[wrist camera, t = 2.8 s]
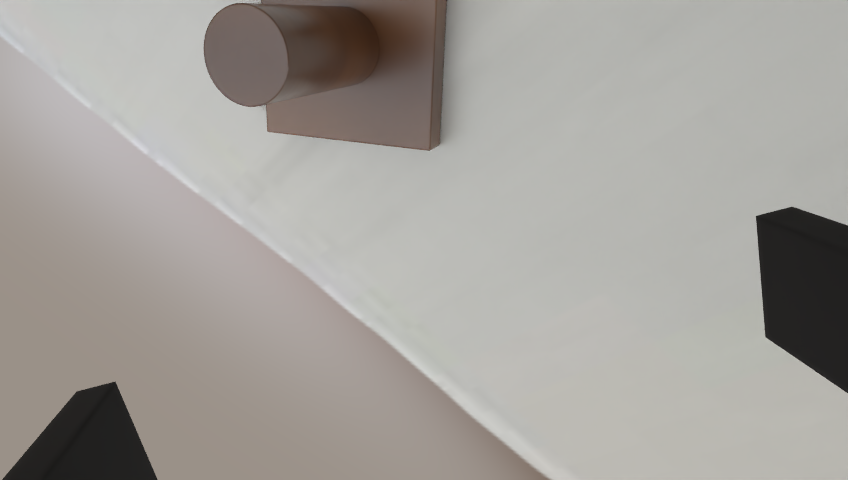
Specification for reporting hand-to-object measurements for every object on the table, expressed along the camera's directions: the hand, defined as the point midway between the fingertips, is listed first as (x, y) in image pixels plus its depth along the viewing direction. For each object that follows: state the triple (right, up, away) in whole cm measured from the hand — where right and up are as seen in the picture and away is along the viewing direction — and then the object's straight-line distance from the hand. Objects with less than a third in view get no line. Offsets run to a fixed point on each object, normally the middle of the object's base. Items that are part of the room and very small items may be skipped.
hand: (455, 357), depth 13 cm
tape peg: (-4, +12, +18) cm, 22 cm away
